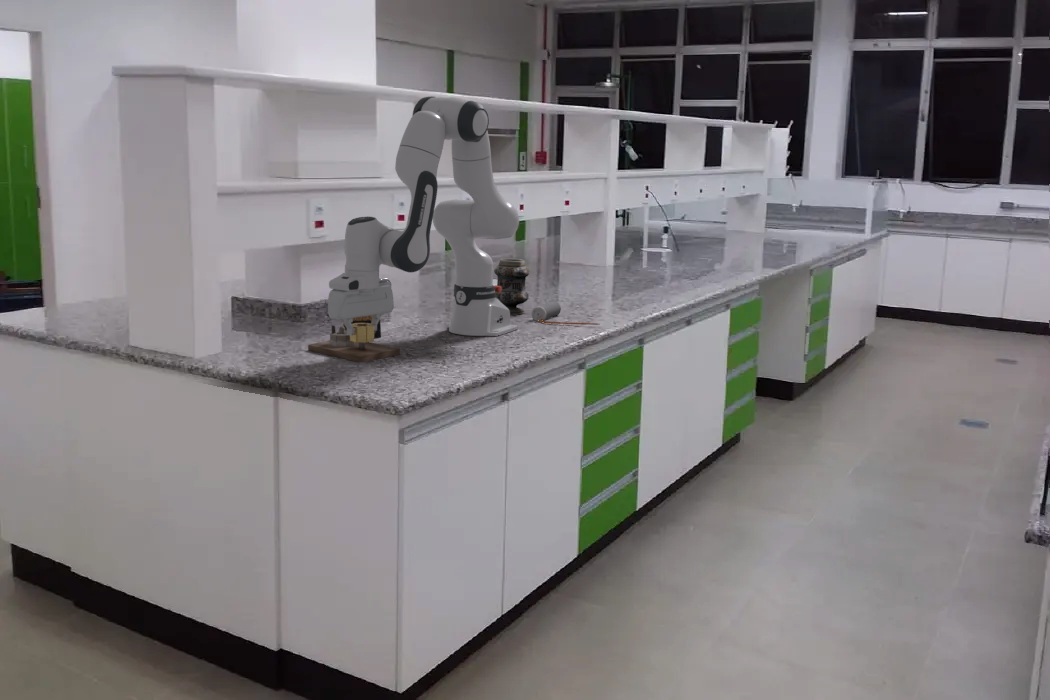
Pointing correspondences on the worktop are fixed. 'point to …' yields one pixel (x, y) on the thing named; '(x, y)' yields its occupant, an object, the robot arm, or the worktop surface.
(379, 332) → the ammunition clip
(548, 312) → the motor
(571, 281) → the worktop surface
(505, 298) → the apothecary jar
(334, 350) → the gear board
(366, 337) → the octagonal hollow tube
